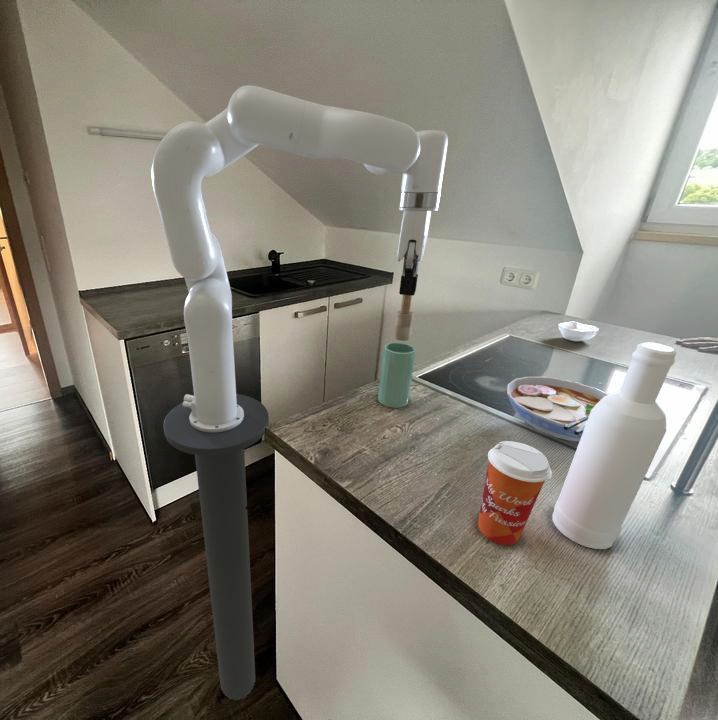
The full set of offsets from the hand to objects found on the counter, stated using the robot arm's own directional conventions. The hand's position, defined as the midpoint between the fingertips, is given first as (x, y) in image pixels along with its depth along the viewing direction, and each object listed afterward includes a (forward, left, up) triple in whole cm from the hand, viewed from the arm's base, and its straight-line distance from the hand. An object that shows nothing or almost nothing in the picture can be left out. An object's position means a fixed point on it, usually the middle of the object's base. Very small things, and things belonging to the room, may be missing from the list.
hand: (407, 292), depth 84 cm
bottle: (+32, -30, -27) cm, 52 cm away
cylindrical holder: (0, 0, -27) cm, 27 cm away
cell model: (+54, +67, -27) cm, 90 cm away
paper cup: (+20, -35, -27) cm, 49 cm away
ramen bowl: (+35, 0, -27) cm, 44 cm away
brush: (0, 0, -11) cm, 11 cm away
